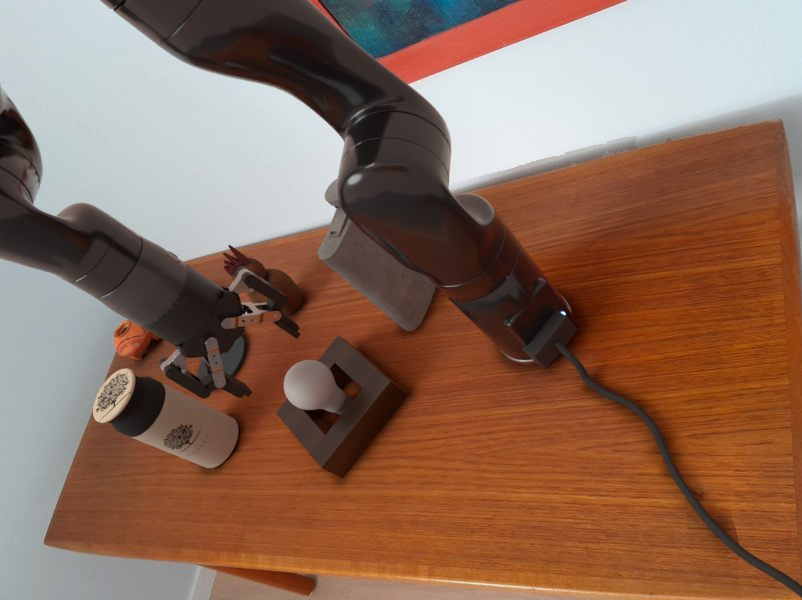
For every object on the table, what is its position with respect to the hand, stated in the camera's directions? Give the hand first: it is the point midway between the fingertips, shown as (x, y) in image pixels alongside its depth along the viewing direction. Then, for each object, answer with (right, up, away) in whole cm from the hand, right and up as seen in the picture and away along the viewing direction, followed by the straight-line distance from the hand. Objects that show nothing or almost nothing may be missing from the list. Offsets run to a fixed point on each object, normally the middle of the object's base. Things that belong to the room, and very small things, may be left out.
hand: (272, 362), depth 76 cm
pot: (-34, +1, +45) cm, 57 cm away
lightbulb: (+7, -7, +10) cm, 14 cm away
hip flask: (+18, +11, +14) cm, 25 cm away
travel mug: (-13, -13, +21) cm, 28 cm away
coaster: (-16, -1, +30) cm, 34 cm away
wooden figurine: (-4, +8, +28) cm, 29 cm away
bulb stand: (+7, -7, +10) cm, 14 cm away
